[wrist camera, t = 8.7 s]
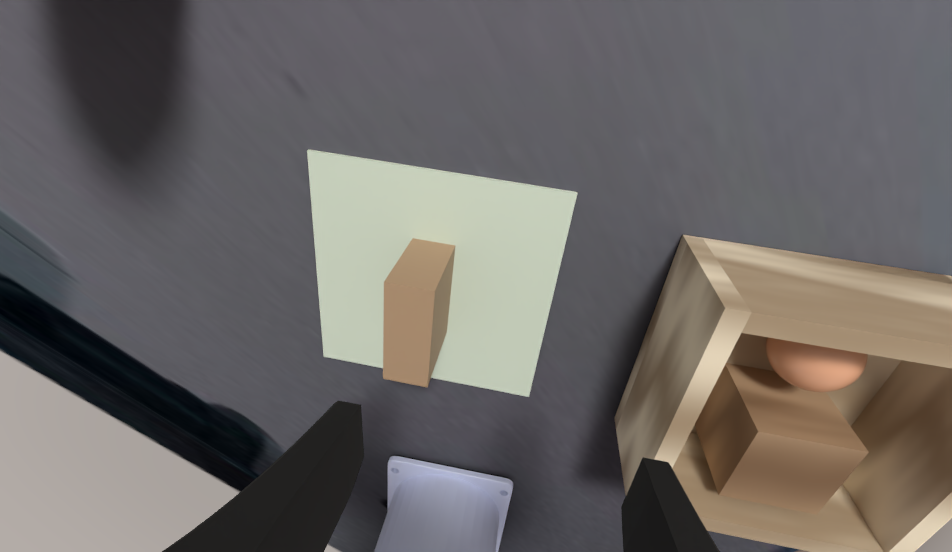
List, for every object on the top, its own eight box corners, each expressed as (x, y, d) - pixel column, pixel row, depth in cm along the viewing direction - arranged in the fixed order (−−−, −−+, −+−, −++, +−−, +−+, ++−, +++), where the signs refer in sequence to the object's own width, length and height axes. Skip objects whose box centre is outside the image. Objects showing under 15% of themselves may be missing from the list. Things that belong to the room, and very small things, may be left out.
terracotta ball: (816, 361, 20) (858, 417, 17) (741, 348, 20) (771, 401, 17) (855, 301, 18) (908, 352, 15) (773, 288, 18) (811, 335, 16)
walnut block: (776, 438, 22) (816, 514, 19) (694, 422, 23) (718, 495, 19) (815, 378, 20) (869, 452, 17) (724, 362, 21) (758, 431, 17)
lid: (529, 386, 25) (524, 459, 21) (329, 347, 26) (286, 409, 22) (576, 187, 19) (582, 233, 15) (315, 145, 20) (253, 178, 16)
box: (827, 457, 23) (895, 569, 19) (614, 417, 24) (628, 514, 20) (966, 278, 18) (1112, 372, 13) (682, 234, 19) (725, 308, 14)
